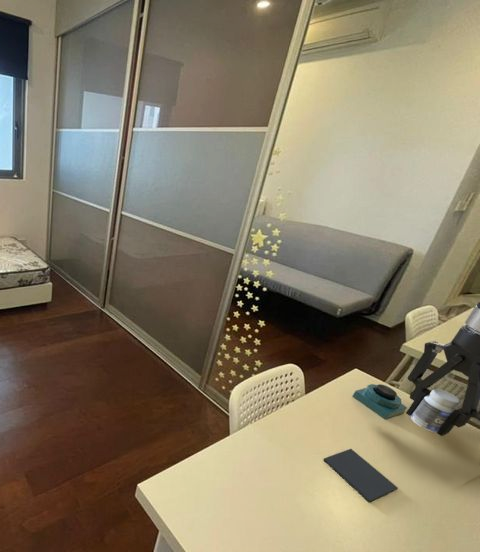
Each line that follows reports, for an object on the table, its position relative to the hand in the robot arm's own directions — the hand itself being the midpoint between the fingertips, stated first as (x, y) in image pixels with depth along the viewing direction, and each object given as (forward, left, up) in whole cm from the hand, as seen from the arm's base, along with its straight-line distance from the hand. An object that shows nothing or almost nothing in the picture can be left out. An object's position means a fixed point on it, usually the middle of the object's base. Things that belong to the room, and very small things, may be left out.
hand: (426, 422), depth 70 cm
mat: (-1, +18, -9) cm, 20 cm away
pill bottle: (0, 0, -1) cm, 1 cm away
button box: (+11, -10, -9) cm, 17 cm away
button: (+11, -10, -5) cm, 16 cm away
